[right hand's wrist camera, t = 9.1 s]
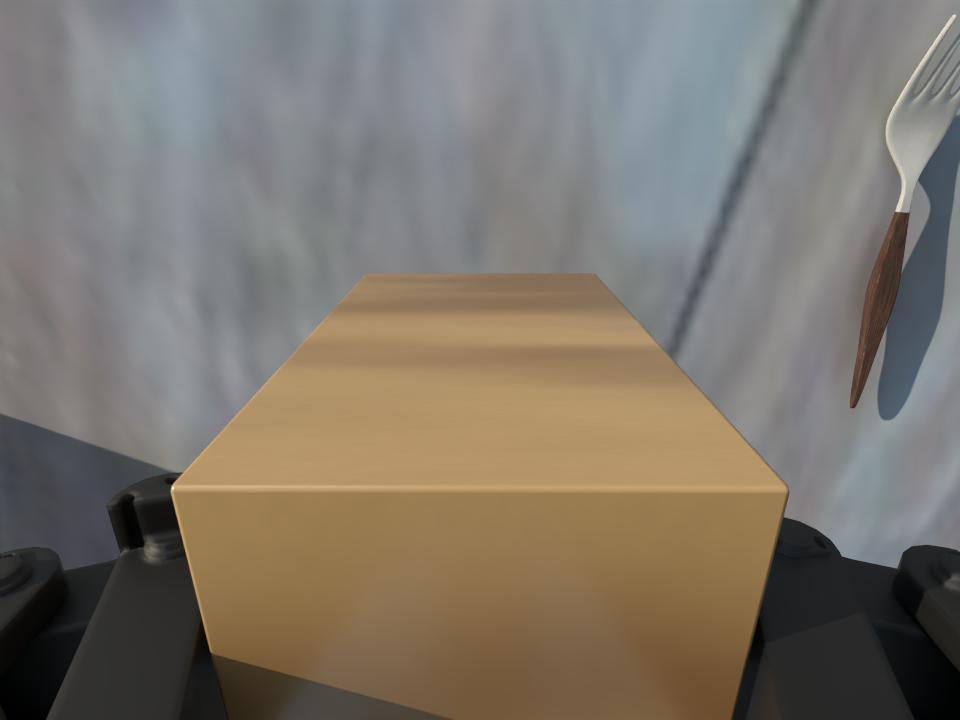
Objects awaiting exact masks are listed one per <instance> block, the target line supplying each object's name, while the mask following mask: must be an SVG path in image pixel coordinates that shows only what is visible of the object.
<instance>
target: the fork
mask: <svg viewBox="0 0 960 720" xmlns="http://www.w3.org/2000/svg"><path fill="white" fill-rule="evenodd" d="M956 18H957V15H956V14H954V15H953V16H952V17H951V18H950V20H949V21H948V23H947V24H946V26H945V27H944V29H943V30H942V31H941V33H940V34H939V36H938V37H937V39H936V40H935V42H934V43H933V45H932V46H931V48H930V49H929V51H928V52H927V54H926V55H925V57H924V58H923V60H922V61H921V63H920V64H919V66H918V67H917V69H916V71H915V72H914V74H913V75H912V77H911V79H910V80H909V82H908V83H907V85H906V87H905V88H904V90H903V92H902V93H901V95H900V97H899V98H898V100H897V102H896V104H895V105H894V107H893V109H892V111H891V113H890V115H889V118H888V121H887V125H886V141H887V145H888V148H889V151H890V154H891V156H892V158H893V160H894V162H895V164H896V167H897V169H898V171H899V174H900V176H901V181H902V191H901V195H900V199H899V202H898V205H897V208H896V211H895V213H894V216H893V219H892V221H891V224H890V227H889V229H888V232H887V234H886V237H885V240H884V242H883V245H882V248H881V250H880V253H879V255H878V258H877V261H876V264H875V266H874V269H873V272H872V275H871V278H870V281H869V285H868V288H867V292H866V297H865V302H864V309H863V316H862V324H861V332H860V340H859V347H858V353H857V359H856V364H855V370H854V376H853V382H852V389H851V397H850V408H855V407H856V405H857V403H858V401H859V398H860V396H861V393H862V391H863V388H864V386H865V383H866V380H867V378H868V375H869V372H870V369H871V366H872V363H873V360H874V358H875V355H876V352H877V349H878V346H879V344H880V341H881V338H882V336H883V333H884V331H885V328H886V325H887V323H888V320H889V317H890V314H891V312H892V309H893V306H894V303H895V299H896V296H897V292H898V287H899V282H900V277H901V270H902V264H903V257H904V250H905V242H906V235H907V227H908V220H909V213H910V207H911V201H912V196H913V192H914V189H915V186H916V183H917V181H918V179H919V177H920V175H921V173H922V171H923V169H924V168H925V166H926V165H927V163H928V161H929V160H930V158H931V157H932V155H933V154H934V152H935V151H936V149H937V147H938V146H939V144H940V143H941V141H942V139H943V138H944V136H945V134H946V132H947V131H948V129H949V127H950V125H951V123H952V121H953V119H954V117H955V115H956V113H957V111H958V109H959V107H960V87H959V88H958V89H957V90H956V92H955V93H953V94H952V95H950V91H951V88H952V86H953V85H954V83H955V81H956V79H957V77H958V76H959V74H960V60H959V62H958V63H957V65H956V66H955V68H954V69H953V71H952V72H951V73H950V75H949V76H948V78H947V79H946V81H945V82H944V84H943V85H942V87H941V88H940V89H939V90H938V92H937V93H936V94H934V95H932V90H933V88H934V86H935V84H936V82H937V80H938V78H939V77H940V75H941V73H942V72H943V70H944V68H945V67H946V65H947V63H948V62H949V60H950V58H951V57H952V55H953V53H954V52H955V50H956V48H957V47H958V45H959V44H960V34H959V35H958V36H957V38H956V39H955V41H954V42H953V44H952V45H951V46H950V48H949V49H948V51H947V52H946V54H945V55H944V56H943V58H942V59H941V61H940V62H939V64H938V65H937V67H936V68H935V70H934V71H933V73H932V74H931V76H930V77H929V79H928V80H927V82H926V83H925V85H924V86H923V88H922V89H921V90H920V92H919V93H918V94H916V95H913V92H914V90H915V87H916V85H917V83H918V81H919V79H920V78H921V76H922V74H923V72H924V71H925V69H926V67H927V65H928V64H929V62H930V60H931V58H932V57H933V55H934V53H935V51H936V50H937V48H938V46H939V45H940V43H941V41H942V40H943V38H944V36H945V35H946V33H947V31H948V30H949V28H950V27H951V25H952V24H953V22H954V21H955V19H956Z"/></svg>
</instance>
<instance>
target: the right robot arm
mask: <svg viewBox="0 0 960 720" xmlns="http://www.w3.org/2000/svg"><path fill="white" fill-rule="evenodd" d="M182 474H183V473H168V474H164V475H159V476H155V477H151V478H148V479H145V480H143V481H140V482H138V483H136V484H133V485H131V486H129V487H128V488H126V489H125V490H123V491H122V492H120V493H118V494H117V495H116V496H115V497H114V498H113V499H112V500H111V501H110V502H109V504H108V505H107V509H108V513H109V516H110V519H111V523H112V526H113V529H114V533H115V536H116V539H117V543H118V546H119V549H120V555H119V557H118V559H116V560H113V561H109V562H104V563H100V564H95V565H90V566H85V567H81V568H76V569H71V570H66V571H64V570H63V567H62V564H61V561H60V558H59V555H58V554H56V553H55V552H54V551H52V550H51V549H48V548H38V547H32V548H25V549H19V550H13V551H9V552H5V553H4V554H0V720H227V717H226V713H225V709H224V705H223V701H222V697H221V693H220V689H219V685H218V681H217V677H216V673H215V669H214V665H213V661H212V657H211V653H210V649H209V644H208V640H207V636H206V632H205V628H204V624H203V620H202V616H201V612H200V608H199V604H198V600H197V596H196V592H195V588H194V584H193V580H192V576H191V572H190V568H189V564H188V560H187V556H186V552H185V548H184V543H183V539H182V535H181V531H180V527H179V523H178V519H177V515H176V511H175V507H174V503H173V499H172V495H171V487H172V485H173V484H174V482H175V481H176V480H177V479H178V478H179V477H180V476H181V475H182ZM733 720H960V552H958V550H954V549H950V548H945V547H938V546H931V545H921V546H912V547H910V548H909V549H907V550H906V551H904V552H903V554H902V557H901V560H900V563H899V565H898V568H897V569H896V568H891V567H886V566H881V565H877V564H872V563H867V562H862V561H858V560H853V559H849V558H845V557H842V556H841V554H840V552H839V551H838V549H837V548H836V546H835V545H834V544H833V542H832V541H831V540H830V539H829V538H827V537H826V536H825V535H823V534H822V533H820V532H819V531H818V530H816V529H814V528H812V527H810V526H808V525H806V524H804V523H802V522H799V521H796V520H792V519H788V518H785V517H783V521H782V525H781V529H780V533H779V537H778V541H777V545H776V549H775V553H774V557H773V561H772V565H771V569H770V573H769V577H768V581H767V585H766V589H765V593H764V597H763V601H762V605H761V609H760V613H759V617H758V621H757V625H756V629H755V633H754V637H753V641H752V645H751V649H750V653H749V657H748V661H747V665H746V669H745V673H744V677H743V681H742V685H741V689H740V693H739V697H738V701H737V705H736V709H735V713H734V717H733Z"/></svg>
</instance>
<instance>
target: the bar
mask: <svg viewBox="0 0 960 720" xmlns="http://www.w3.org/2000/svg"><path fill="white" fill-rule="evenodd" d="M171 495H172V499H173V503H174V507H175V511H176V515H177V519H178V523H179V527H180V531H181V535H182V539H183V543H184V548H185V552H186V556H187V560H188V564H189V568H190V572H191V576H192V580H193V584H194V588H195V592H196V596H197V600H198V604H199V608H200V612H201V616H202V620H203V624H204V628H205V632H206V636H207V640H208V644H209V649H210V653H211V657H212V661H213V665H214V669H215V673H216V677H217V681H218V685H219V689H220V693H221V697H222V701H223V705H224V709H225V713H226V717H227V720H733V717H734V713H735V709H736V705H737V701H738V697H739V693H740V689H741V685H742V681H743V677H744V673H745V669H746V665H747V661H748V657H749V653H750V649H751V645H752V641H753V637H754V633H755V629H756V625H757V621H758V617H759V613H760V609H761V605H762V601H763V597H764V593H765V589H766V585H767V581H768V577H769V573H770V569H771V565H772V561H773V557H774V553H775V549H776V545H777V541H778V537H779V533H780V529H781V525H782V521H783V517H784V513H785V509H786V504H787V500H788V496H789V488H788V485H787V484H786V483H785V482H784V481H783V480H782V479H781V478H780V477H779V475H778V474H777V473H776V472H775V471H774V470H773V469H772V468H771V467H770V466H769V464H768V463H767V462H766V461H765V460H764V459H763V458H762V457H761V456H760V455H759V453H758V452H757V451H756V450H755V449H754V448H753V447H752V446H751V445H750V444H749V443H748V441H747V440H746V439H745V438H744V437H743V436H742V435H741V434H740V433H739V432H738V430H737V429H736V428H735V427H734V426H733V425H732V424H731V423H730V422H729V421H728V419H727V418H726V417H725V416H724V415H723V414H722V413H721V412H720V411H719V410H718V408H717V407H716V406H715V405H714V404H713V403H712V402H711V401H710V400H709V399H708V397H707V396H706V395H705V394H704V393H703V392H702V391H701V390H700V389H699V388H698V386H697V385H696V384H695V383H694V382H693V381H692V380H691V379H690V378H689V377H688V376H687V374H686V373H685V372H684V371H683V370H682V369H681V368H680V367H679V366H678V365H677V363H676V362H675V361H674V360H673V359H672V358H671V357H670V356H669V355H668V354H667V352H666V351H665V350H664V349H663V348H662V347H661V346H660V345H659V344H658V343H657V341H656V340H655V339H654V338H653V337H652V336H651V335H650V334H649V333H648V332H647V330H646V329H645V328H644V327H643V326H642V325H641V324H640V323H639V322H638V321H637V319H636V318H635V317H634V316H633V315H632V314H631V313H630V312H629V311H628V310H627V308H626V307H625V306H624V305H623V304H622V303H621V302H620V301H619V300H618V299H617V298H616V296H615V295H614V294H613V293H612V292H611V291H610V290H609V289H608V288H607V287H606V285H605V284H604V283H603V282H602V281H601V280H600V279H599V278H598V277H597V276H596V274H366V275H365V276H364V277H363V278H362V279H361V280H360V281H359V282H358V283H357V284H356V285H355V287H354V288H353V289H352V290H351V291H350V292H349V293H348V294H347V295H346V296H345V297H344V298H343V300H342V301H341V302H340V303H339V304H338V305H337V306H336V307H335V308H334V309H333V310H332V312H331V313H330V314H329V315H328V316H327V317H326V318H325V319H324V320H323V321H322V322H321V324H320V325H319V326H318V327H317V328H316V329H315V330H314V331H313V332H312V333H311V334H310V335H309V337H308V338H307V339H306V340H305V341H304V342H303V343H302V344H301V345H300V346H299V347H298V349H297V350H296V351H295V352H294V353H293V354H292V355H291V356H290V357H289V358H288V359H287V361H286V362H285V363H284V364H283V365H282V366H281V367H280V368H279V369H278V370H277V371H276V373H275V374H274V375H273V376H272V377H271V378H270V379H269V380H268V381H267V382H266V383H265V384H264V386H263V387H262V388H261V389H260V390H259V391H258V392H257V393H256V394H255V395H254V396H253V398H252V399H251V400H250V401H249V402H248V403H247V404H246V405H245V406H244V407H243V408H242V410H241V411H240V412H239V413H238V414H237V415H236V416H235V417H234V418H233V419H232V420H231V422H230V423H229V424H228V425H227V426H226V427H225V428H224V429H223V430H222V431H221V432H220V433H219V435H218V436H217V437H216V438H215V439H214V440H213V441H212V442H211V443H210V444H209V445H208V447H207V448H206V449H205V450H204V451H203V452H202V453H201V454H200V455H199V456H198V457H197V459H196V460H195V461H194V462H193V463H192V464H191V465H190V466H189V467H188V468H187V469H186V470H185V472H184V473H183V474H182V475H181V476H180V477H179V478H178V479H177V480H176V481H175V482H174V484H173V485H172V487H171Z"/></svg>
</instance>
